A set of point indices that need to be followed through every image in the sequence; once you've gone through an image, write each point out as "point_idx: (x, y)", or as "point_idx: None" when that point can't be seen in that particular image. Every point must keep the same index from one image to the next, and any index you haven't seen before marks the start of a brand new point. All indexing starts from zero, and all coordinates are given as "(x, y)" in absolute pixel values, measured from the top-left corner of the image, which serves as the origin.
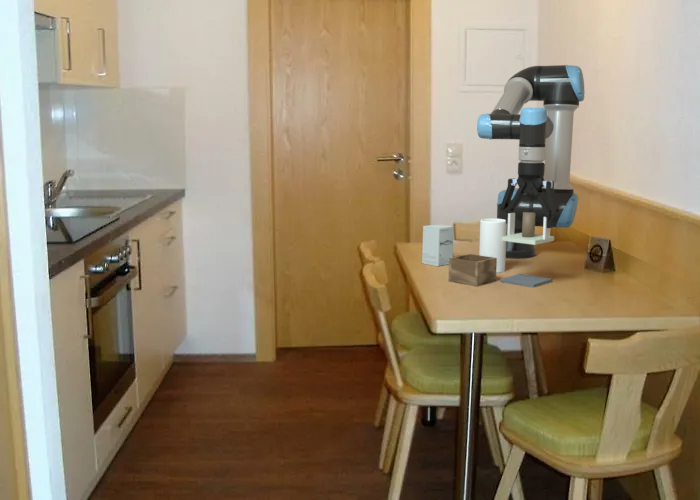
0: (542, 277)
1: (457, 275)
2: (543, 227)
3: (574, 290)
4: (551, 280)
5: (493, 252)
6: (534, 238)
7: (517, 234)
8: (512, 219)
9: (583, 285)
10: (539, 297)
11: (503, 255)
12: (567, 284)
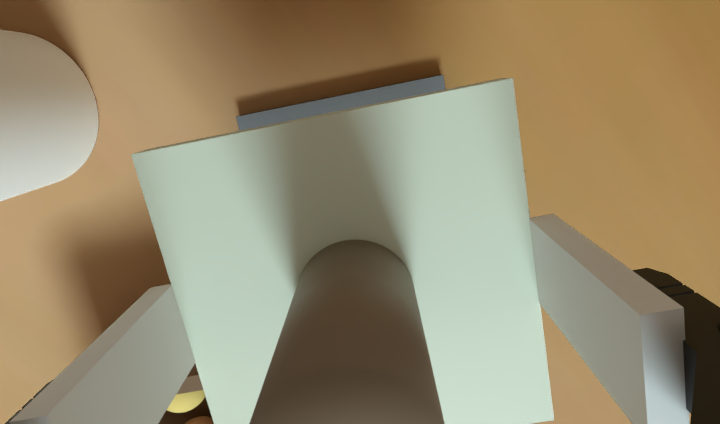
0: (382, 89)
1: None
2: (586, 359)
3: (647, 155)
4: (443, 84)
5: (8, 186)
6: (470, 337)
7: (205, 278)
8: (117, 417)
9: (613, 7)
10: None
11: (34, 102)
12: (538, 62)
